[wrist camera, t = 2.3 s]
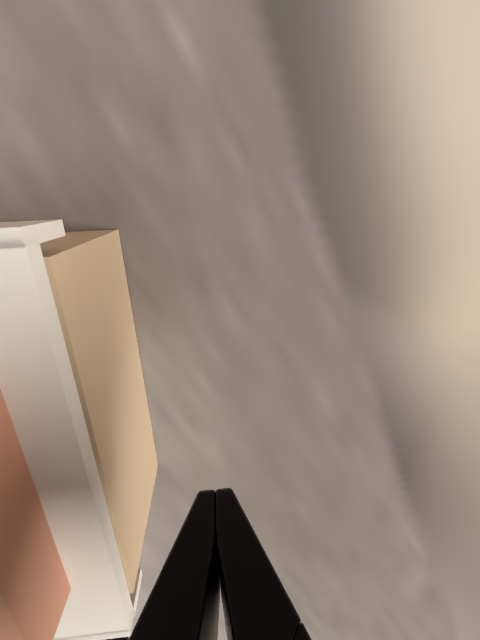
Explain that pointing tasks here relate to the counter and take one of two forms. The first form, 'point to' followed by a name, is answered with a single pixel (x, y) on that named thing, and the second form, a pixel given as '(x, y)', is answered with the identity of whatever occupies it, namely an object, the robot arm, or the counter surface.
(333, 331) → the counter surface
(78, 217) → the counter surface
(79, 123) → the counter surface
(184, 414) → the counter surface
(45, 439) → the lid
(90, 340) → the wooden box
